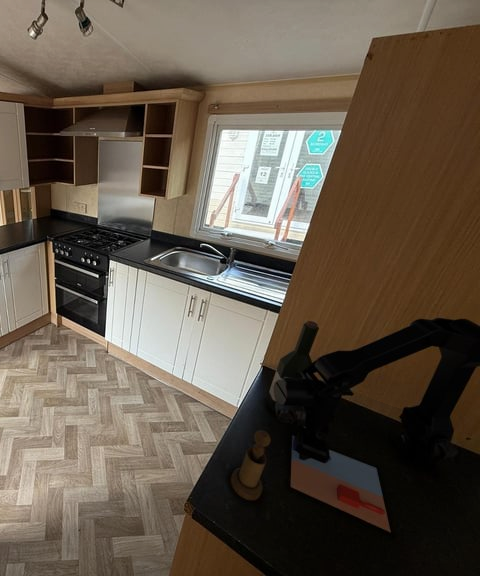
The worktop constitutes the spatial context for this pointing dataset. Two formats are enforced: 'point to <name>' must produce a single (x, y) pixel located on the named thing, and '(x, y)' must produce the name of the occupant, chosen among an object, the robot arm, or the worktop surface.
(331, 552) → the worktop surface
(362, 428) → the worktop surface
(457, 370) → the robot arm
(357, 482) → the sorting board
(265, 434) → the mortar and pestle
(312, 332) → the wine bottle
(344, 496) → the red spoon
